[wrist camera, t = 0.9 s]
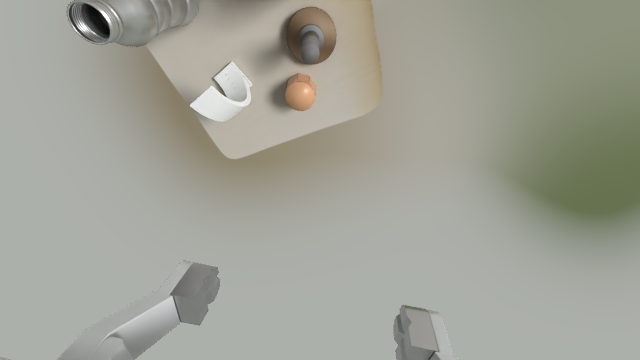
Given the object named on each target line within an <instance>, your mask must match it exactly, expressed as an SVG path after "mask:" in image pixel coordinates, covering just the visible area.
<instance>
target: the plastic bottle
mask: <svg viewBox="0 0 640 360" xmlns="http://www.w3.org/2000/svg"><path fill="white" fill-rule="evenodd" d="M198 9H199V1H198V0H74V1H72V2H70V4H69V5H68V7H67V17H68V20H69V22H70V24H71V26H72V27H73V29H74V30H75V31H76V32H77V33H78V34H79V35H80V36H81V37H82V38H84V39H85V40H87V41H88V42H91V43H93V44H98V45H103V44H107V43H112V42H116V43H118V44H121V45H124V46H134V47H135V46H136V47H138V46H143V45H146V44H148V43H149V42H151V41H152V40H153V39H154V38H155V37H156V36H157V35H158V34H159V33H160V32H161V31H163V30H165V29H166V28H169V27H173V26H184V25H187V24H189V23H191V22H192V21H193V20H194V18H195V17H196V15H197V13H198Z"/></svg>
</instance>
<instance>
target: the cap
mask: <svg viewBox="0 0 640 360" xmlns="http://www.w3.org/2000/svg"><path fill="white" fill-rule="evenodd" d="M315 94H316V85H315V84H314V82H313V81H312V79H311V77H309V76H307V75H303V74H300V73H299V74H296V75H294V76H293V77H291V78H290V79H289V80H288V83H287V87H286V93H285V99H286V102H287V104H288V105H289V106H290V107H291V108H292V109H294V110H297V111H304V110H307V109H309V108H310V107H311V106H312V105H313V103H314V99H315Z"/></svg>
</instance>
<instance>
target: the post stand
mask: <svg viewBox="0 0 640 360" xmlns="http://www.w3.org/2000/svg"><path fill="white" fill-rule="evenodd" d="M287 43H288V47H289V49H290V51H291V53H292V54H293V55H294V56H295V58H297V59H298V60H299V61H301V62H303V63H306V64H318V63H321V62H323V61H325V60H326V59H327V58H328V57H329V56H330V55H331V53H332V52H333V50H334V47H335V44H336V30H335V26H334V23H333V21H332V19H331V18H330V16H329V15H328V14H327V13H326V12H325V11H323V10H321V9H319V8H316V7H306V8H303V9H301V10H299V11H298V12H297V13H295V15H294V16H293V17H292V19H291V21H290V23H289V25H288V28H287Z"/></svg>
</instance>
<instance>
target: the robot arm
mask: <svg viewBox="0 0 640 360" xmlns="http://www.w3.org/2000/svg"><path fill="white" fill-rule="evenodd" d="M218 273H219V272H218V268H217V267H213V266H208V265H204V264H199V263H195V262H190V261H185V260H183V261H182V262H181V263H179V265H178V266H177V267H176V269H175V270H174V271H173V272H172V274H171V275H170V276H169V277H168V279H167V280H166V281H165V282H164V284H163V285H162V286H161V287H160V289H159V290H158V291H157V292H152V293H150V294H148V295H147V296H144V297H143V298H141V299H139V300H137V301H135V302H134V303H132V304H130V305H129V306H126V307H125V308H123V309H121V310H119V311H117V312H116V313H114V314H112V315H110V316H109V317H107V318H105V319H103V320H101V321H99V322H98V323H96V324H94V325H92V326H90V327H89V328H87V329H85V330H84V332H82V333H81V335H80V336H79V337H78V338H77V339H76V340H75V341H74V342H73V343H72V344H71V345H70V346H69V347H68V349H66V351H65V352H64V353H63V354H62V355H61V356H60V357H59V358H58V359H57V360H134V359H136V358H137V357H138V356H139V355H141V354H142V353H143V352H145V350H147V349H148V348H149V347H151V346H152V345H153V344H155V343H156V342H157V341H158V340H160V339H161V338H162V337H163V336H165V335H166V334H167V333H169V331H171V330H172V329H174V328H175V327H176V326H177V325H179V324H180V322H184V323H189V324H195V325H200V324H201V323H202V321H203V319H204V317H205V315H206V313H207V312H208V306H207V305H208V304H210V303H211V302H213V301H214V299H215V297H216V295H217V293H218V290H219V286H220V279H219V278H218V277H217V274H218ZM394 339H395V341H396V342H397V344H398V347H397V349H396V359H397V360H460V359H459V358H458V357H457V356H454V355H453V352H452V349H451V345H450V342H449V339H448V335H447V332H446V328H445V325H444V322H443V318H442V315H441V314H440V313H439V312H436V311H431V310H426V309H422V308H417V307H412V306H406V305H402V306H401V308H400V314H399V315H398V316H396V318H395V321H394ZM0 360H9V359H5V358H0Z"/></svg>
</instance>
